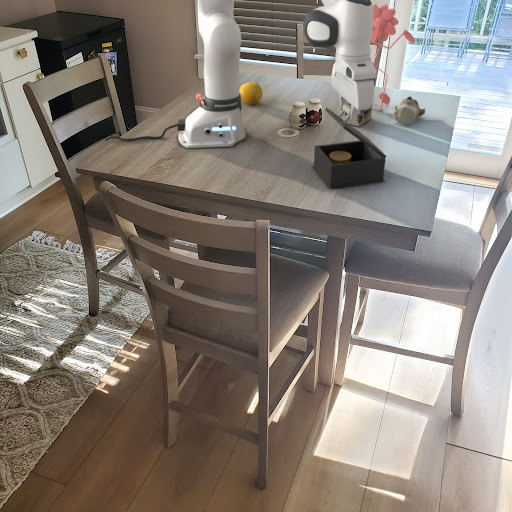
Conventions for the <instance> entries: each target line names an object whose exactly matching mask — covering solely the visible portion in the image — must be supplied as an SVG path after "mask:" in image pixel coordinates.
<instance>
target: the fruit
mask: <svg viewBox="0 0 512 512" xmlns="http://www.w3.org/2000/svg"><path fill="white" fill-rule="evenodd" d="M239 93H240V94H241V102H243V103H244V104H246V105H255V104H258V103H260V101H261V100H262V97H263V89H262V87H261V86H260V84H258V83H257V82H255V81H247V82H246V83H243V84H242V85H241V86H239Z"/></svg>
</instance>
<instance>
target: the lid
mask: <svg viewBox="0 0 512 512" xmlns="http://www.w3.org/2000/svg"><path fill="white" fill-rule="evenodd" d="M342 109H343V110H340V112H339V114H336V113H335V112H333V111H332V110H331V109H329V108H328V107H326V108H325V109H324V111H325V112H326V113H327V114H328V115H330V117H331V118H332V119H333V120H334V121H335V122H336V123H337V124H338V125H340V127H341V128H343V130H344V131H346V132H348V133H349V134H350V135H352V136H353V137H355V138H356V139H357V140H358V141H359V140H360V141H362V142H363V143H364V144H366V145H367V146H368V147H370V148H371V149H372V150H374V151H375V152H377V153H378V154H379V155H381V156H382V157H383V158H385V159H386V158H387V155H386V154H385V153H384V152H383V151H382V150H381V149H380V148H379V147H378V146H377V145H376V144H375V143H374V142H373V141H371V140H370V139H369V138H368V137H367V136H366V135H365V134H363V133H362V132H360V131H359V130H358V129H356V128H355V126H353V125H351V124H348V123H347V121H348V120H349V112H351V109H352V108H351V106H350V105H348V104H344V105H343V106H342ZM345 112H346V113H347V114H348V115H347V117H346V118H345V119H344V118H342V117H343V116H344V113H345Z"/></svg>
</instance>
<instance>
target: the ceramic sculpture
mask: <svg viewBox="0 0 512 512" xmlns="http://www.w3.org/2000/svg"><path fill="white" fill-rule="evenodd" d="M394 110H395V111H394V112H393V116H394V119H395V121H396V123H397V124H400V125H401V126H402V125H403V126H405V125H406V126H408V125H411V124H412V123H413V122H414V121H415V120H416V118H418V117H422V116H424V115H425V114H426V108H420V105H419V102H418V101H417V99H415V98H413V97H412V96H407V97H406V98H404V99H403V100H402V101H401V102H400V103H399V104H398V105H396V106H394Z"/></svg>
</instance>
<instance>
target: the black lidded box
mask: <svg viewBox="0 0 512 512" xmlns="http://www.w3.org/2000/svg"><path fill="white" fill-rule="evenodd" d="M334 151H344V152H348V153H350V154H351V159H350V162H346V163H339V164H333V163H332V162H331V160H330V158H329V154H330V153H331V152H334ZM313 153H314V155H313V156H314V157H313V168H314V170H315V171H316V173H318V175H319V177H320V178H321V179H322V180H323V181H324V183H325V184H326V186H327V187H328V188H329V189H338V188H345V187H351V186H352V187H353V186H360V185H366V184H374V183H382V182H384V177H385V176H384V175H385V167H386V160H387V159H386V158H383V157H382V156H381V155H379V154H378V153H377V152H375V151H374V150H372V149H371V148H370V147H368V146H367V145H366V144H364V143H363V142H362V141H360V140H359V139H358V140H351V141H344V142H343V141H342V142H337V143H336V142H335V143H326V144H319V145H318V144H317V145H315V146H314V152H313Z"/></svg>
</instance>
